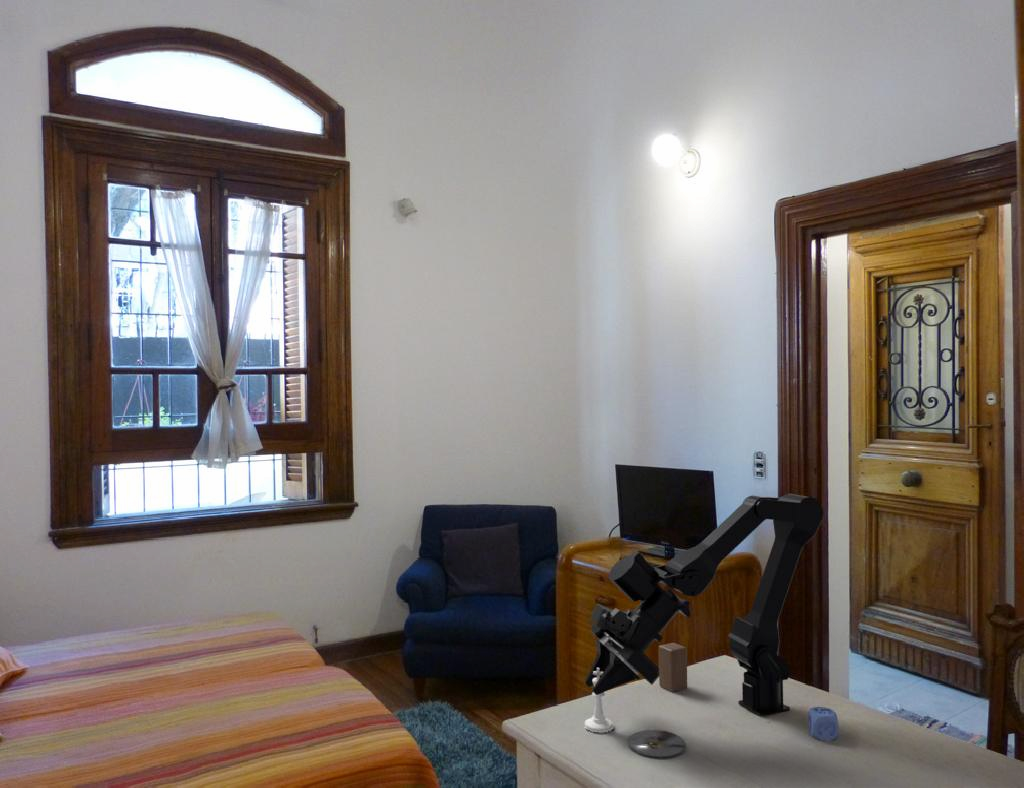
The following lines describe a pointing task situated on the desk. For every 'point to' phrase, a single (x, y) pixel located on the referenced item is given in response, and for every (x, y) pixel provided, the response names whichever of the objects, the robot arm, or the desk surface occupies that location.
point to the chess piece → (598, 712)
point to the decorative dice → (823, 723)
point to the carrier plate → (656, 744)
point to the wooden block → (673, 667)
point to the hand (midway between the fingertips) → (590, 689)
